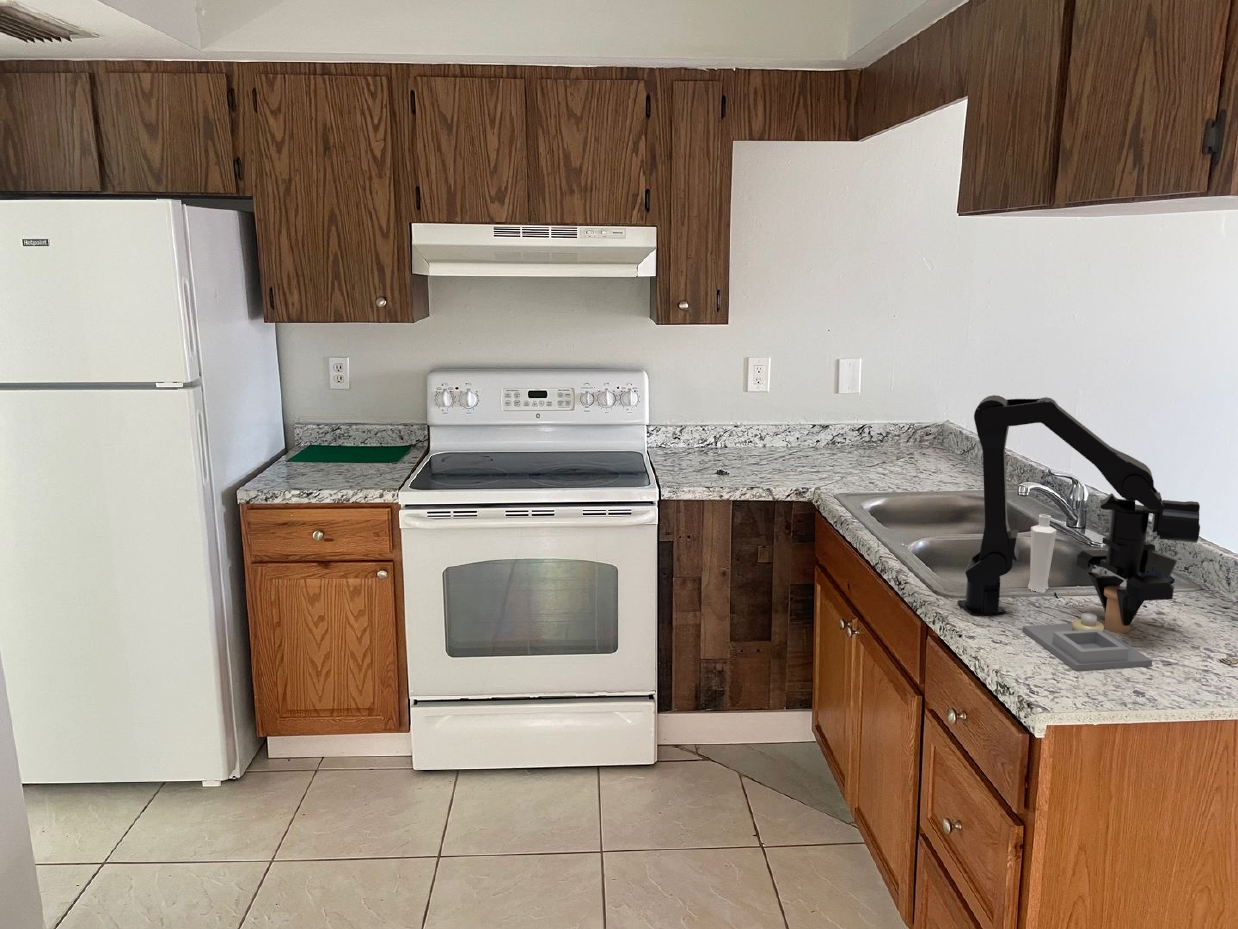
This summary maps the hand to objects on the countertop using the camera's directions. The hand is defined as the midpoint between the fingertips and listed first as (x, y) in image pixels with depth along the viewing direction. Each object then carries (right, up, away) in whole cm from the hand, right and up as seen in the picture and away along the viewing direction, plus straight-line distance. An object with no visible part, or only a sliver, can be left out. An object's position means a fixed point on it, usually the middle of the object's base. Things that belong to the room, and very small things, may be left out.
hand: (1117, 620), depth 168 cm
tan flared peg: (0, -1, 0) cm, 2 cm away
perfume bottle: (-5, +3, +19) cm, 20 cm away
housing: (-10, -3, -8) cm, 13 cm away
